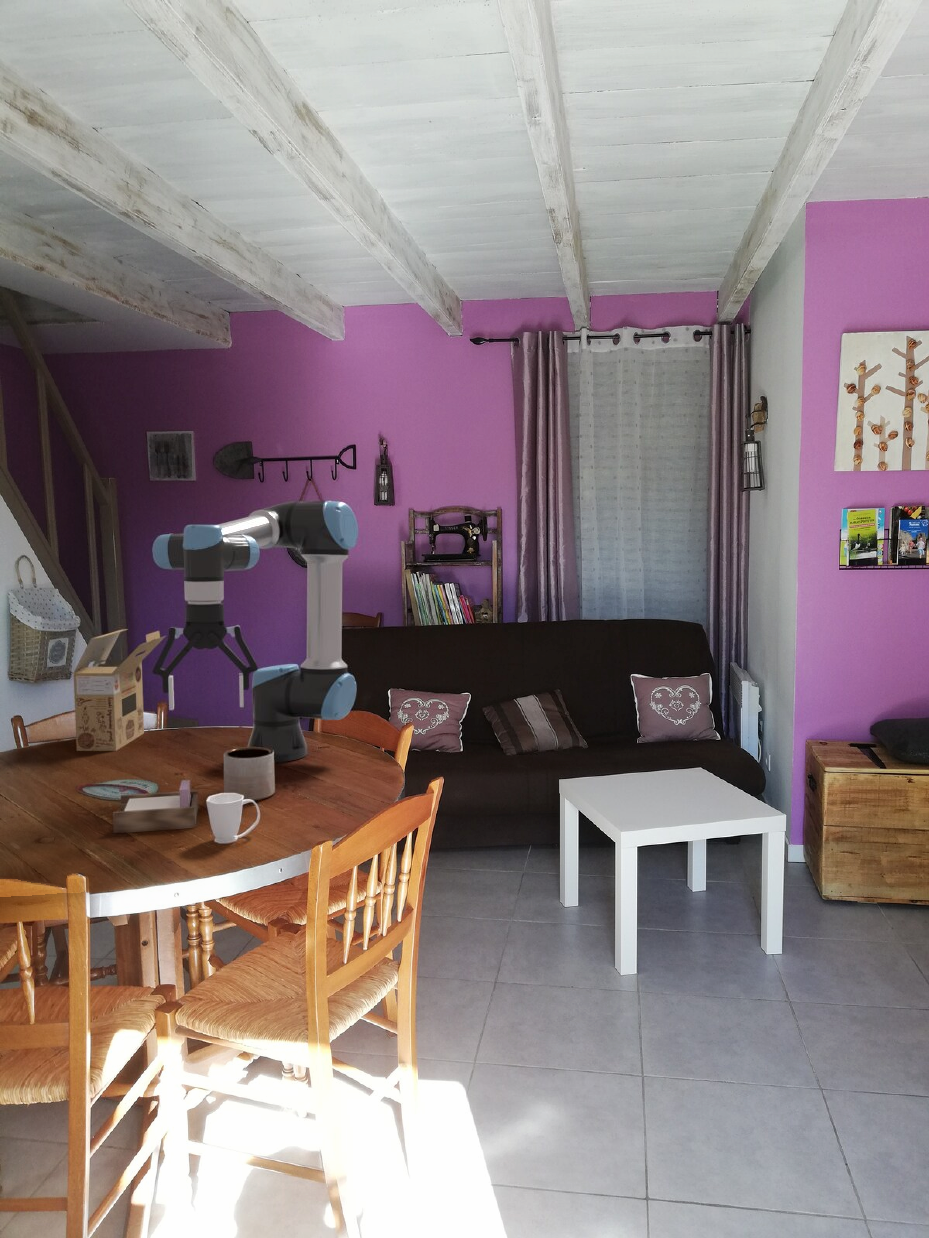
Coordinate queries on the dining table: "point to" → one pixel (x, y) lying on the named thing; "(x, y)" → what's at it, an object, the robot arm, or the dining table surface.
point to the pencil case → (155, 815)
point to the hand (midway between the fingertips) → (207, 707)
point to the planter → (249, 772)
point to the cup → (227, 816)
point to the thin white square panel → (162, 800)
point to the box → (109, 695)
